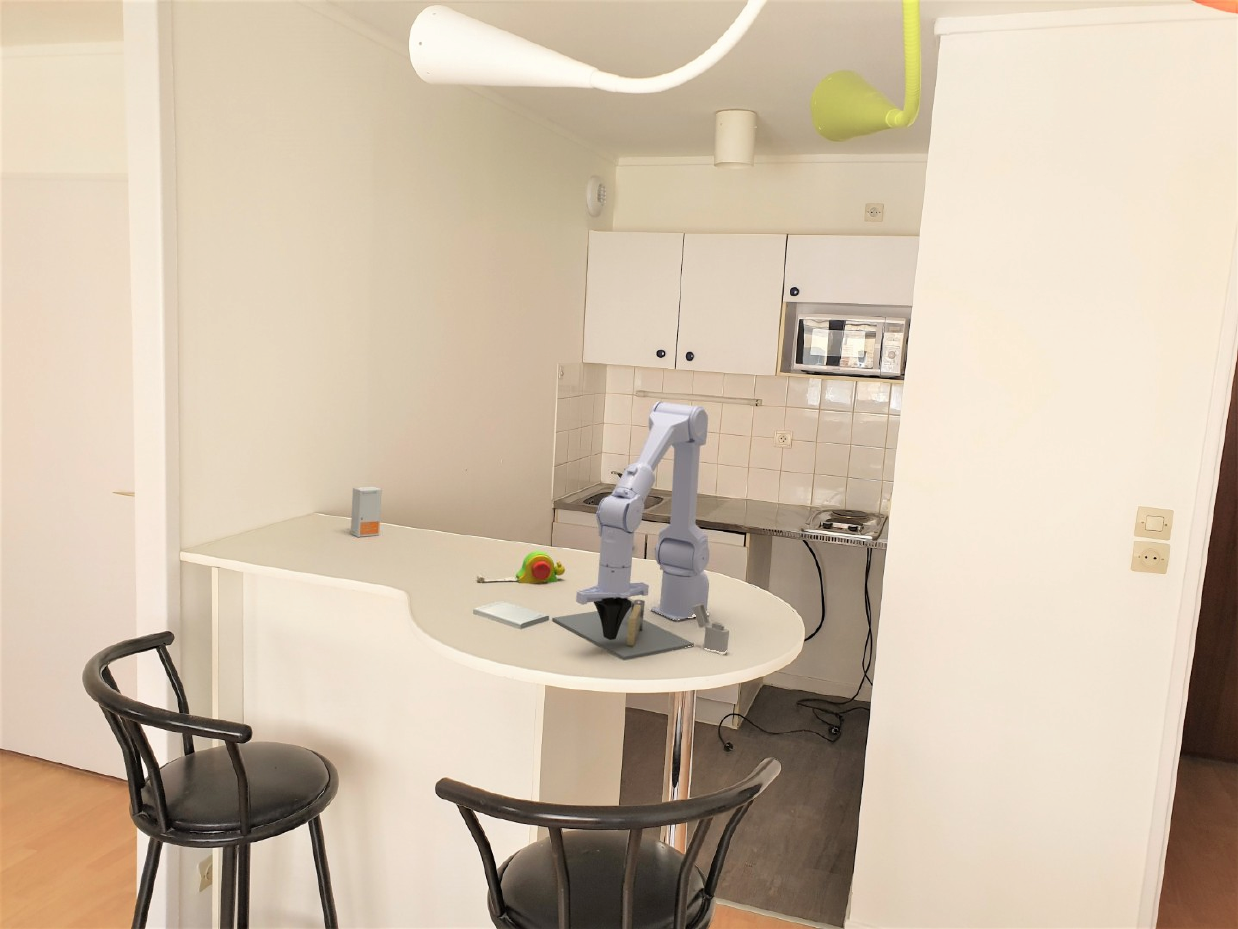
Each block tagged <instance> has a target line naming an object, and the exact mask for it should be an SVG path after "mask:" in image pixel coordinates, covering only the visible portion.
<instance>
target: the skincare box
mask: <svg viewBox="0 0 1238 929" xmlns="http://www.w3.org/2000/svg"><path fill="white" fill-rule="evenodd" d="M382 491H383V490H382V488H379V487H376V486H360V487H352V498H351V499H352V500H351V519H350V520H351V521H350V535H353V536H354V537H357V538H361V537H375V536H380V531H381V530H380V528H381V527H380V526H381V512H382V511H381V508H382V495H383V494H382Z"/></svg>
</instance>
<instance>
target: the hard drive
mask: <svg viewBox="0 0 1238 929" xmlns="http://www.w3.org/2000/svg"><path fill="white" fill-rule="evenodd" d="M472 614H473V615H477V616H479V617H483V618H486V619H489V620H491V621H495V622H498V623H500V624H504V625H506V626H510V627H513V628H515V629H519V630H522V629H526V628H529V627H533V626H535V625H538V624H541V623H544V622H547V621H549V620H550V616H549V615H548V614H544V613H541V612H538V611H534V610H532V609H529V608H525V607H523V606H520V605H517V604H513V603H510V602H506V601H503V600H498V601H495V602H491V603H488V604H485V605H480V606H478V607H475V608H473V611H472Z"/></svg>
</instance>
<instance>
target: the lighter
mask: <svg viewBox="0 0 1238 929" xmlns="http://www.w3.org/2000/svg"><path fill="white" fill-rule="evenodd" d="M693 609H694V612H695V615H696V618H695V619H696V622H697V626H698V628H699V629H700V628H705V629H704V630H705V631H704V639H703V640H704V642H703V649H704V648H707V649H710V650H716V651H719V652H725V651H726V650H727V651H728V646H729V636H730V629H726V628H725V625H724V624H723V623H722V622H718V621H713V622H711V624H710V620H709V617H708V616H709V615H708V616H707V613H706V610H705V607H704V604H703V603H701V604H697V605H694V606H693Z"/></svg>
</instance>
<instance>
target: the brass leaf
mask: <svg viewBox="0 0 1238 929" xmlns="http://www.w3.org/2000/svg"><path fill="white" fill-rule="evenodd" d="M633 600H634V608H633V610H632V613H631V615H630V617H629V625H628V637H627V645H630V646H634V643H635V641H636V638H637V636H638V633H639V630H640V618H641V617H642V616H643V617H644V616H645V604H646V603H645V600H643V599H633Z"/></svg>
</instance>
